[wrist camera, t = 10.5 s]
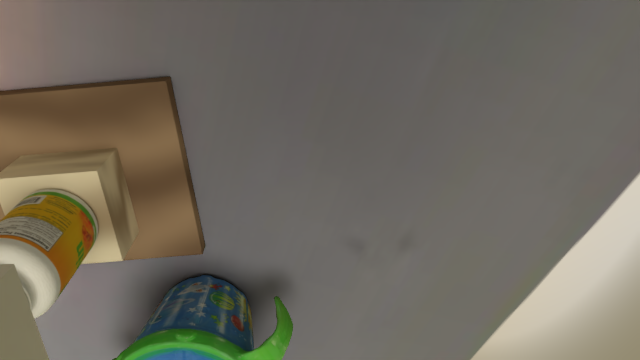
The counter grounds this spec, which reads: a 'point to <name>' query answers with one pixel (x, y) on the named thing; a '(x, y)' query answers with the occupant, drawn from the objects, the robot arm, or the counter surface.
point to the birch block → (79, 193)
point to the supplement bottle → (47, 243)
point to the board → (131, 142)
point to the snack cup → (207, 326)
